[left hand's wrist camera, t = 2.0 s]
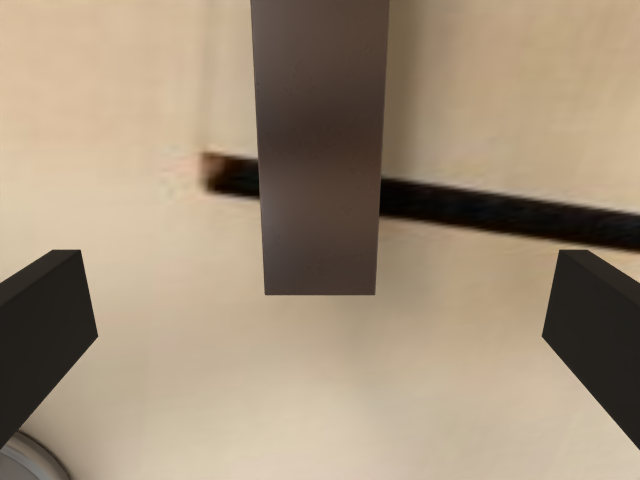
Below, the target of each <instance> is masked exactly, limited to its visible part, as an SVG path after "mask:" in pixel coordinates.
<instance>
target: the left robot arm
mask: <svg viewBox="0 0 640 480" xmlns="http://www.w3.org/2000/svg"><path fill="white" fill-rule="evenodd" d="M97 337H98V333H97V328H96V323H95V318H94V313H93V308H92V303H91V299H90V294H89V289H88V284H87V279H86V274H85V269H84V264H83V259H82V254H81V250H52V251H50V252H48V253H47V254H45V255H44V256H42V257H41V258H39V259H37V260H36V261H34V262H33V263H31V264H30V265H28V266H26V267H25V268H23V269H22V270H20V271H19V272H17V273H15V274H14V275H12V276H11V277H9V278H8V279H6V280H5V281H3V282H1V283H0V480H70V479H69V477H68V476H67V474H66V472H65V471H64V469H63V468H62V467H61V465H60V464H59V463H58V462H57V461H56V460H55V459H54V457H52V456H51V455H50V454H49V453H48V452H47V451H46V450H45V449H43V448H42V447H41V446H40V445H38V444H37V443H35V442H34V441H33V440H31V439H29V438H28V437H26V436H24V435H23V434H21V433H19V432H17V430H18V429H19V428H20V427H21V425H22V424H23V423H24V422H25V421H26V420H27V419H28V417H29V416H30V415H31V414H32V413H33V412H34V410H35V409H36V408H37V407H38V406H39V405H40V403H41V402H42V401H43V400H44V399H45V398H46V396H47V395H48V394H49V393H50V392H51V391H52V390H53V388H54V387H55V386H56V385H57V384H58V383H59V381H60V380H61V379H62V378H63V377H64V376H65V374H66V373H67V372H68V371H69V370H70V369H71V367H72V366H73V365H74V364H75V363H76V362H77V361H78V359H79V358H80V357H81V356H82V355H83V354H84V352H85V351H86V350H87V349H88V348H89V347H90V345H91V344H92V343H93V342H94V341H95V340H96V338H97ZM542 337H543V338H544V340H545V341H546V342H547V343H548V344H549V345H550V347H551V348H552V349H553V350H554V351H555V352H556V354H557V355H558V356H559V357H560V358H561V359H562V361H563V362H564V363H565V364H566V365H567V366H568V367H569V369H570V370H571V371H572V372H573V373H574V374H575V376H576V377H577V378H578V379H579V380H580V381H581V383H582V384H583V385H584V386H585V387H586V388H587V390H588V391H589V392H590V393H591V394H592V395H593V396H594V398H595V399H596V400H597V401H598V402H599V403H600V405H601V406H602V407H603V408H604V409H605V410H606V412H607V413H608V414H609V415H610V416H611V417H612V419H613V420H614V421H615V422H616V423H617V424H618V425H619V427H620V428H621V429H622V430H623V431H624V432H625V434H626V435H627V436H628V437H629V438H630V439H631V441H632V442H633V443H634V444H635V445H636V446H637V448H638V449H639V450H640V283H639V282H637V281H635V280H634V279H632V278H631V277H629V276H628V275H626V274H625V273H623V272H621V271H620V270H618V269H617V268H615V267H614V266H612V265H610V264H609V263H607V262H606V261H604V260H603V259H601V258H599V257H598V256H596V255H595V254H593V253H592V252H590V251H588V250H559V254H558V259H557V264H556V269H555V274H554V279H553V284H552V289H551V294H550V299H549V303H548V308H547V313H546V318H545V323H544V328H543V333H542Z"/></svg>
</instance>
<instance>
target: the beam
mask: <svg viewBox="0 0 640 480" xmlns="http://www.w3.org/2000/svg"><path fill="white" fill-rule="evenodd" d="M251 20H252V40H253V61H254V82H255V102H256V123H257V143H258V164H259V185H260V205H261V226H262V247H263V267H264V288H265V295H375V289H376V268H377V247H378V227H379V206H380V186H381V165H382V144H383V124H384V103H385V83H386V62H387V41H388V21H389V0H251Z"/></svg>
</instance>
